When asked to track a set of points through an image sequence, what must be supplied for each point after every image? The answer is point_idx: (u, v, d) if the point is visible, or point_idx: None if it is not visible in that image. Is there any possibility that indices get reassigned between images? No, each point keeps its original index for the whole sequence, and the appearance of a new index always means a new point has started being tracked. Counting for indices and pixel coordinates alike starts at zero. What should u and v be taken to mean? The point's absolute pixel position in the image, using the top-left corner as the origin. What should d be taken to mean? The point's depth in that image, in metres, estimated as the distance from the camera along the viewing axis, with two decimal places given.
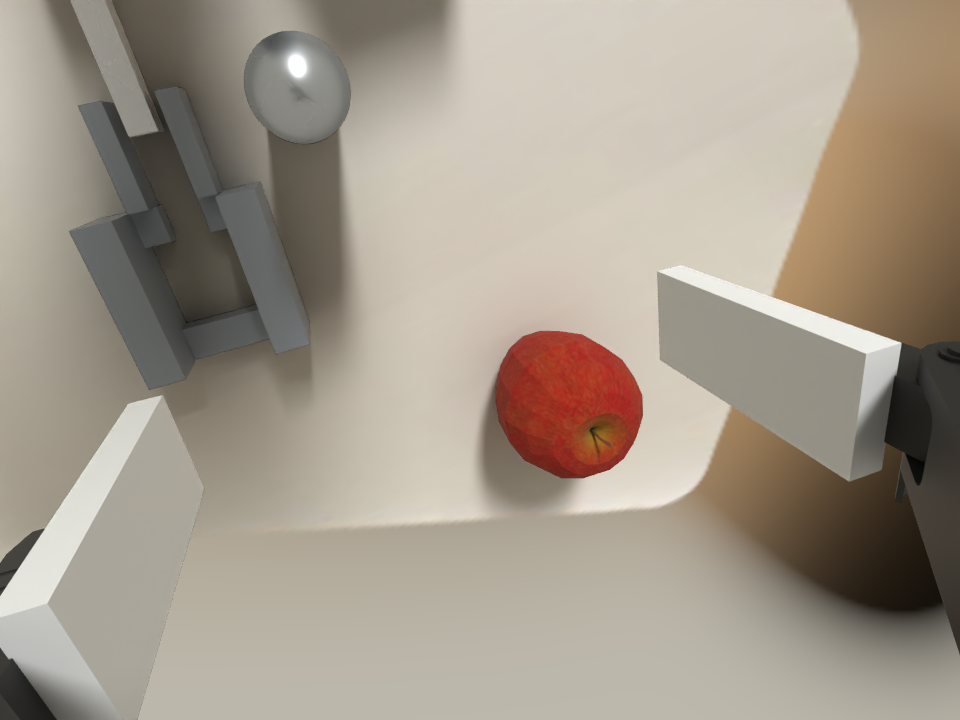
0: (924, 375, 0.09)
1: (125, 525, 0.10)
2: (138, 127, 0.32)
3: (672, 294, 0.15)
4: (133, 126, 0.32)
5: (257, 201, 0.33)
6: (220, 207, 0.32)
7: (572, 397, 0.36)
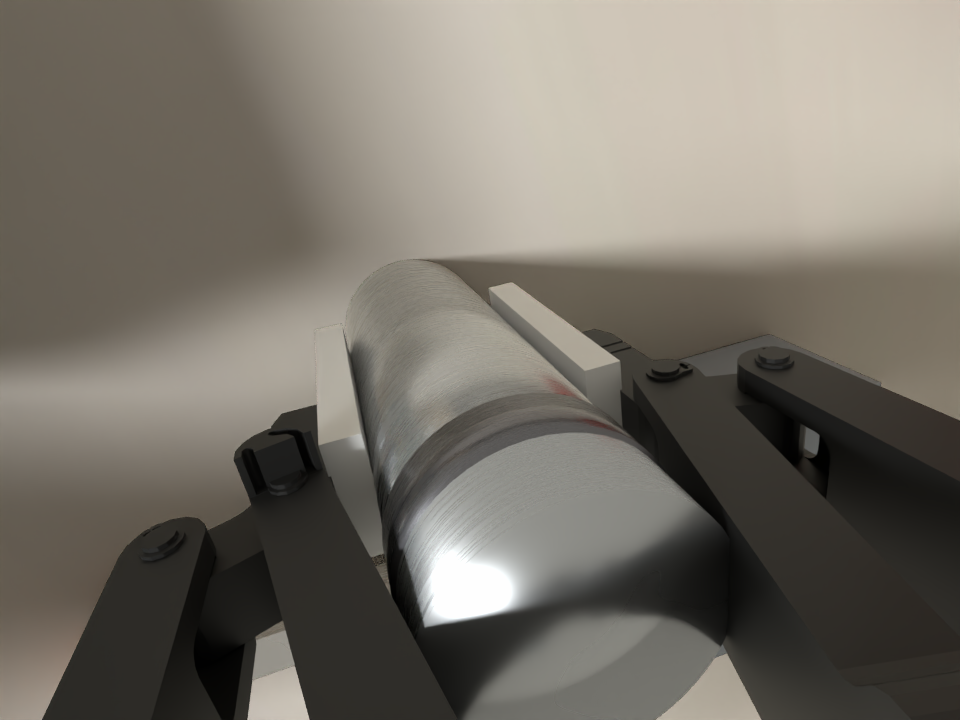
0: (640, 397, 0.10)
1: (358, 406, 0.13)
2: None
3: (497, 309, 0.16)
4: None
5: None
6: None
7: None
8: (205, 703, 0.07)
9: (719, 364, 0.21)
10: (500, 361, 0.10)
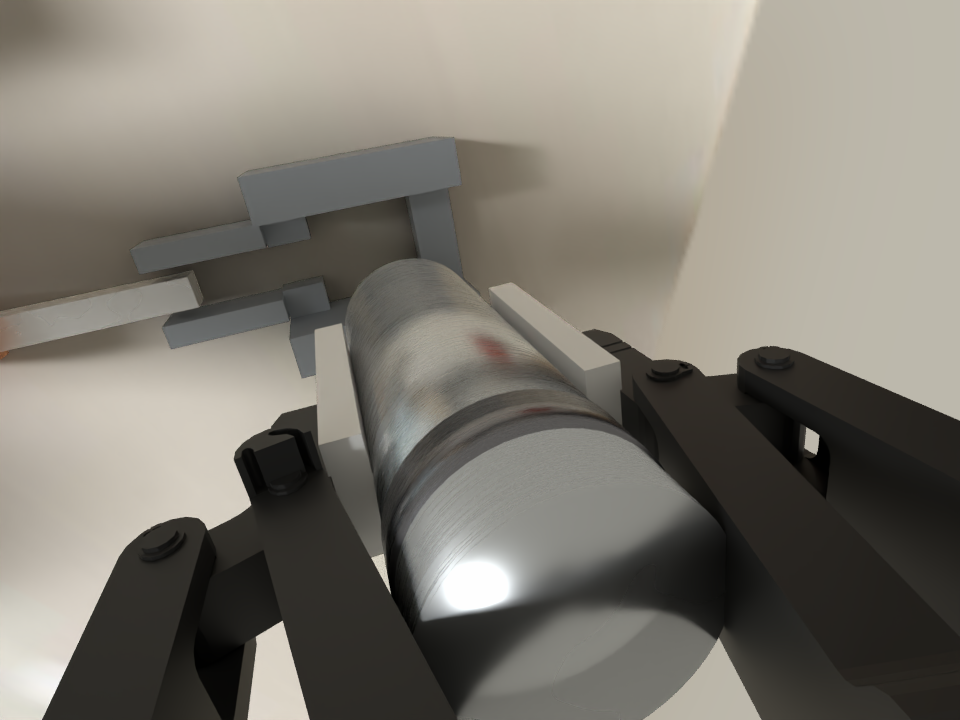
0: (640, 397, 0.10)
1: (359, 406, 0.13)
2: (186, 296, 0.28)
3: (497, 309, 0.16)
4: (186, 300, 0.28)
5: (255, 176, 0.25)
6: (266, 222, 0.26)
7: None
8: (204, 703, 0.07)
9: (378, 147, 0.30)
10: (498, 358, 0.10)
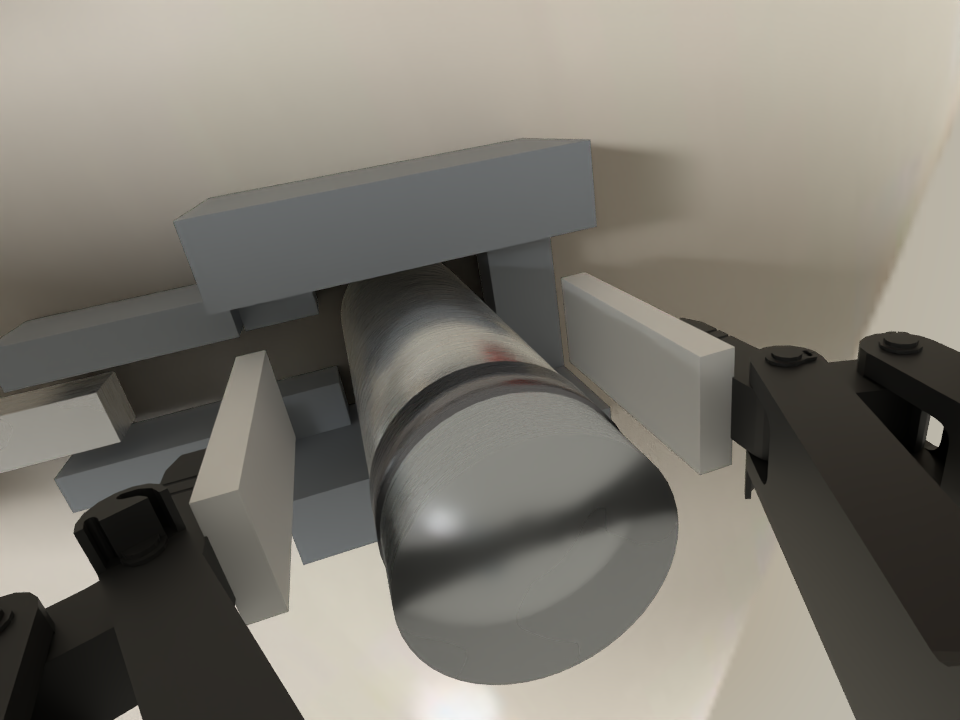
0: (756, 380, 0.10)
1: (262, 448, 0.12)
2: (96, 424, 0.16)
3: (572, 299, 0.16)
4: (96, 432, 0.16)
5: (209, 217, 0.13)
6: (233, 305, 0.13)
7: None
8: None
9: (436, 157, 0.17)
10: (477, 336, 0.11)
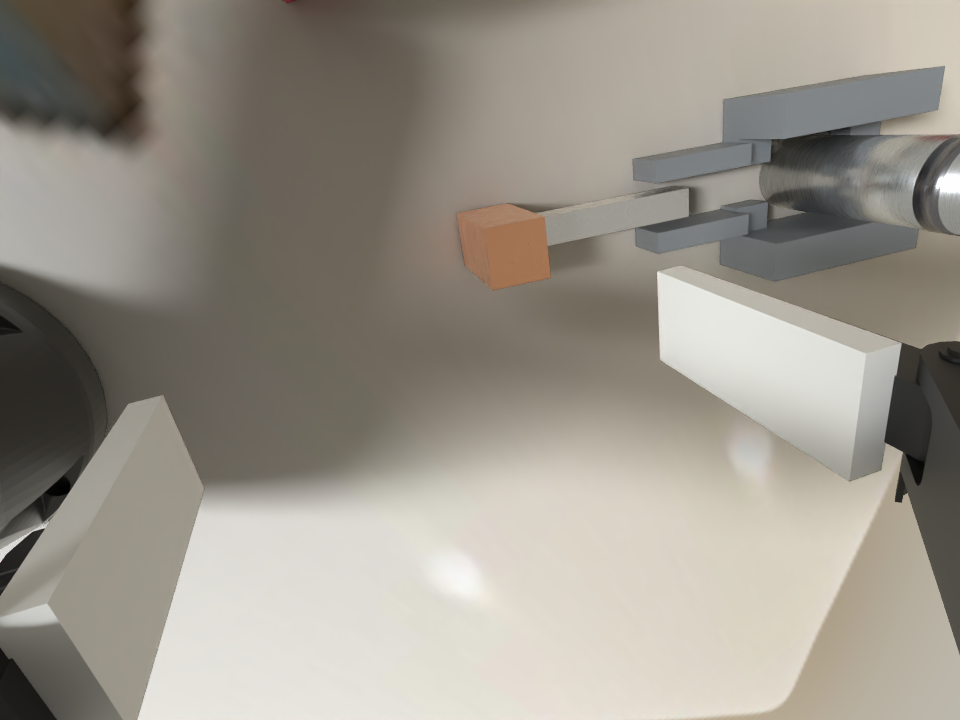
0: (924, 375, 0.09)
1: (125, 525, 0.10)
2: (683, 205, 0.32)
3: (672, 294, 0.15)
4: (681, 209, 0.32)
5: (798, 92, 0.29)
6: (792, 135, 0.30)
7: None
8: None
9: None
10: None
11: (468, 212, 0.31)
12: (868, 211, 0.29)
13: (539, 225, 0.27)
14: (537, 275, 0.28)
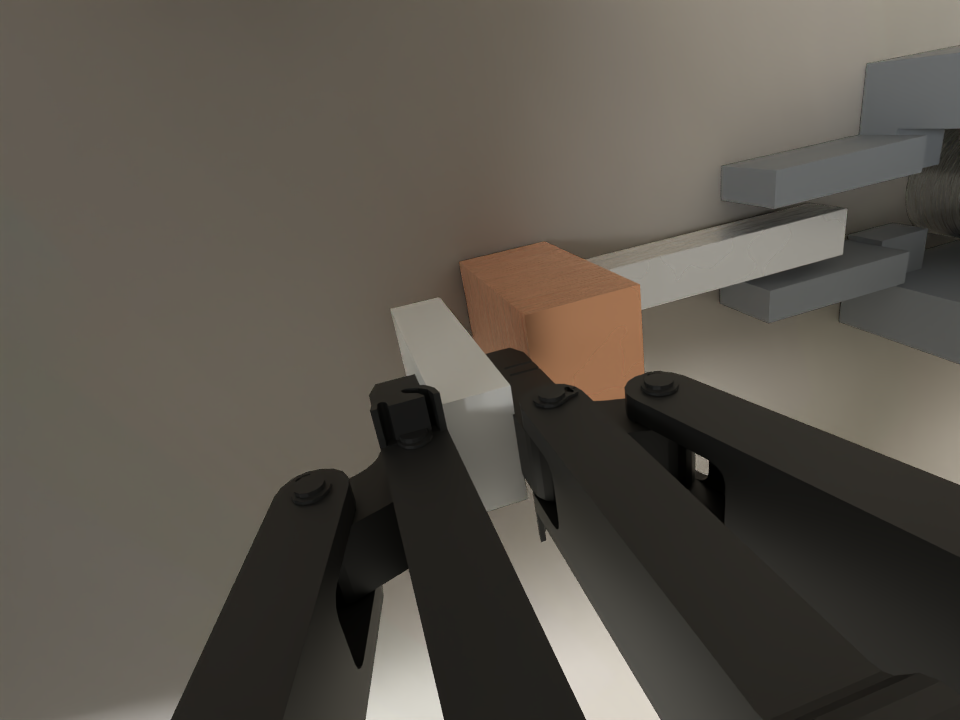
0: (530, 427, 0.10)
1: None
2: (835, 237, 0.19)
3: None
4: (832, 244, 0.19)
5: None
6: None
7: None
8: (342, 643, 0.07)
9: None
10: None
11: (480, 261, 0.18)
12: None
13: (630, 301, 0.14)
14: (621, 390, 0.15)
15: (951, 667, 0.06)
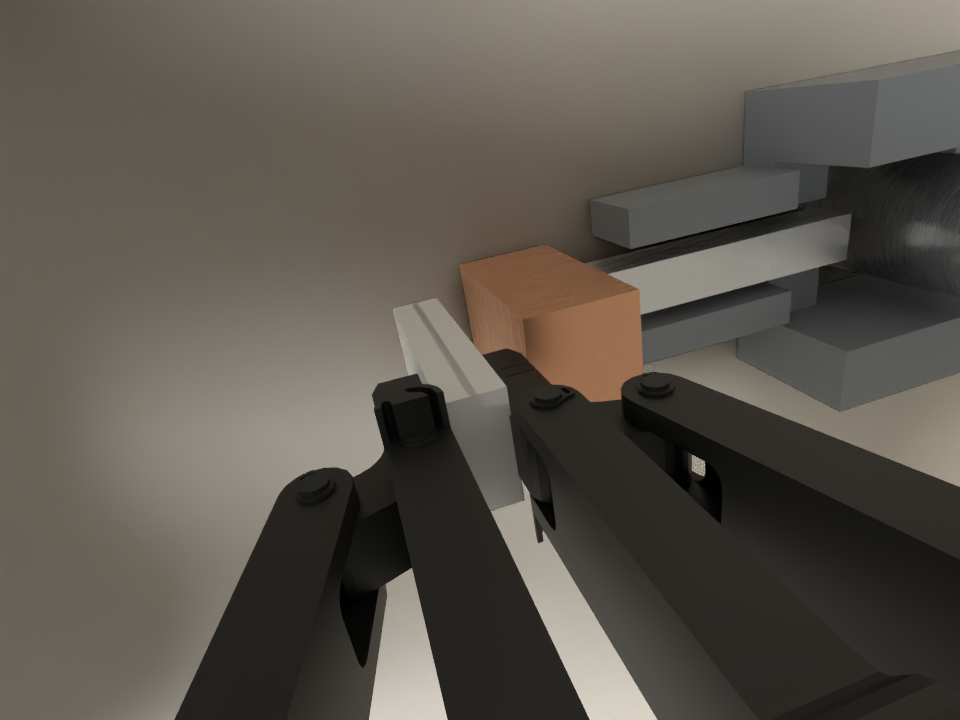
0: (527, 428, 0.10)
1: None
2: (839, 242, 0.19)
3: None
4: (836, 249, 0.19)
5: (901, 78, 0.15)
6: (886, 160, 0.16)
7: None
8: (346, 642, 0.07)
9: (940, 56, 0.19)
10: None
11: (480, 264, 0.18)
12: None
13: (628, 306, 0.14)
14: (620, 396, 0.15)
15: (948, 668, 0.06)
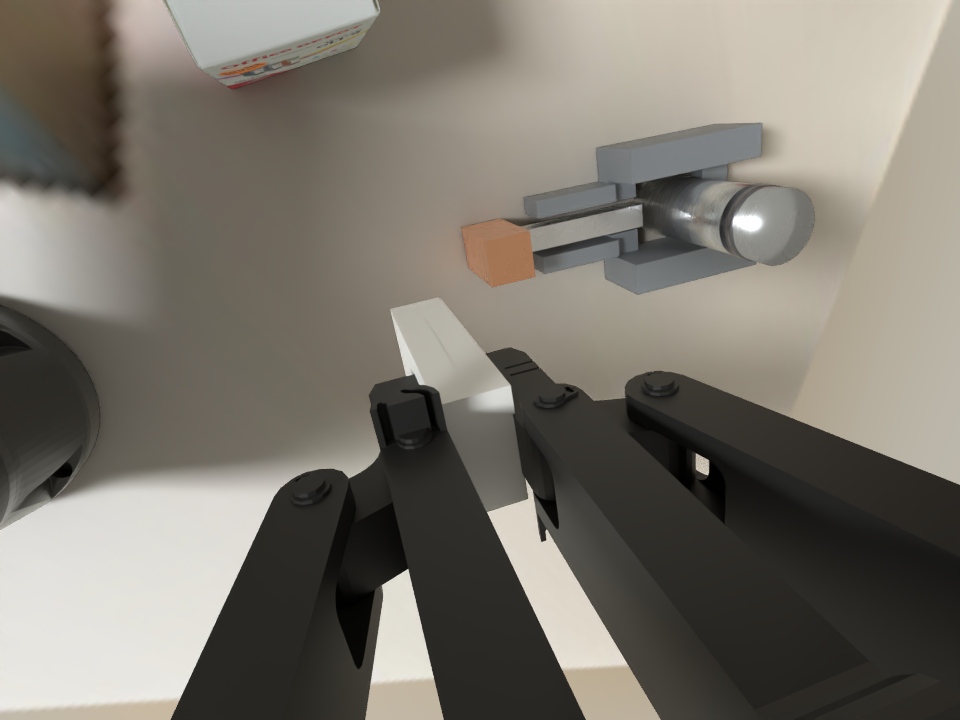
0: (530, 427, 0.10)
1: None
2: (638, 218, 0.41)
3: None
4: (636, 221, 0.41)
5: (641, 148, 0.37)
6: (640, 181, 0.38)
7: None
8: (342, 643, 0.07)
9: (687, 131, 0.42)
10: None
11: (471, 226, 0.40)
12: (698, 240, 0.38)
13: (526, 238, 0.36)
14: (525, 275, 0.37)
15: (951, 667, 0.06)
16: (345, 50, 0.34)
